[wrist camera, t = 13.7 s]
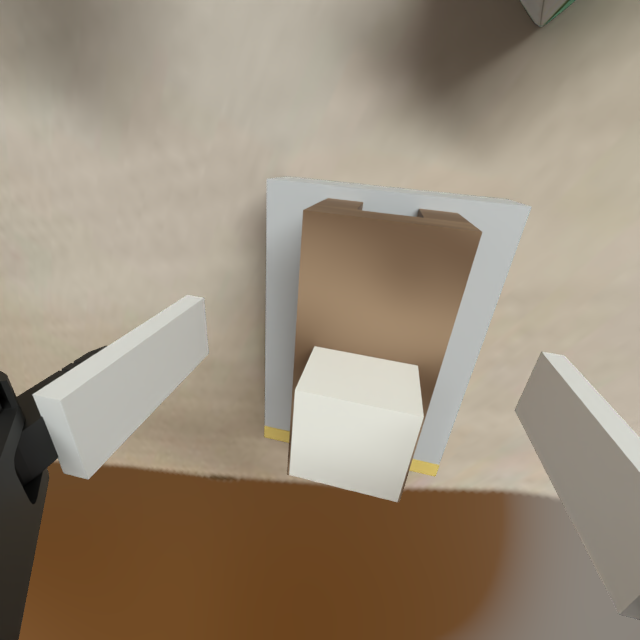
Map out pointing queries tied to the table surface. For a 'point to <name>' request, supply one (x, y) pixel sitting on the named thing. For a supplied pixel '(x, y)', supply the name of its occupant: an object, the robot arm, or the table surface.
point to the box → (544, 9)
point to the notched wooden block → (381, 287)
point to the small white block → (355, 422)
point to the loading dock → (472, 318)
